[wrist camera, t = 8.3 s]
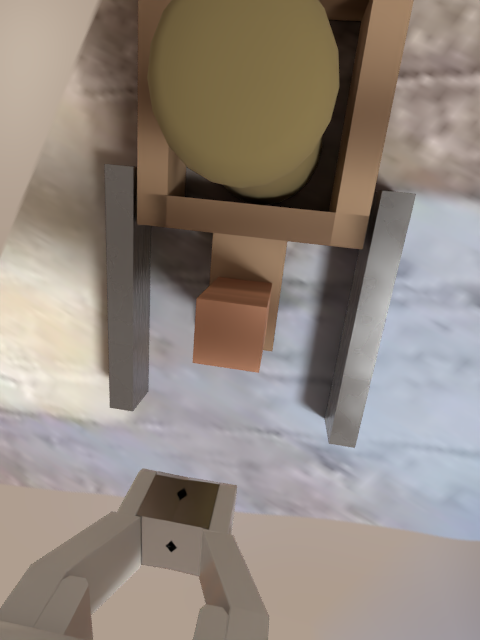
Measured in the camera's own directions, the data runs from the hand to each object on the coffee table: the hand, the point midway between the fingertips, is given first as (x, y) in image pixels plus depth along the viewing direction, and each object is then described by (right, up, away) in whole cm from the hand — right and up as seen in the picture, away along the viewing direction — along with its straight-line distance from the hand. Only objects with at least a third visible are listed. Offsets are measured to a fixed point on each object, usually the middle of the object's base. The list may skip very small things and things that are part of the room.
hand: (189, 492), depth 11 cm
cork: (+3, +15, +8) cm, 17 cm away
